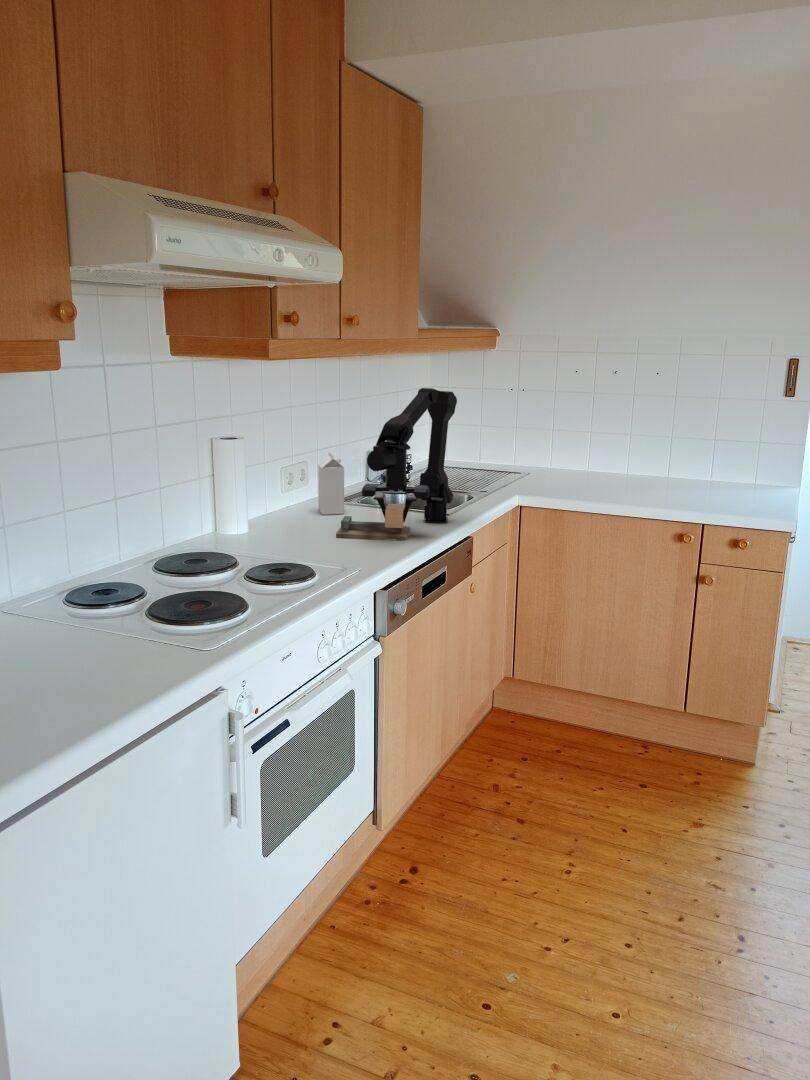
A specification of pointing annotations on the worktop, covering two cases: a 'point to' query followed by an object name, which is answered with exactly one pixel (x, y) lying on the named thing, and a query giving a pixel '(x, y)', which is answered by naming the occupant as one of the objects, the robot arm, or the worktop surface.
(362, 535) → the rail board
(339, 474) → the milk carton
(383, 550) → the worktop surface
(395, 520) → the block
